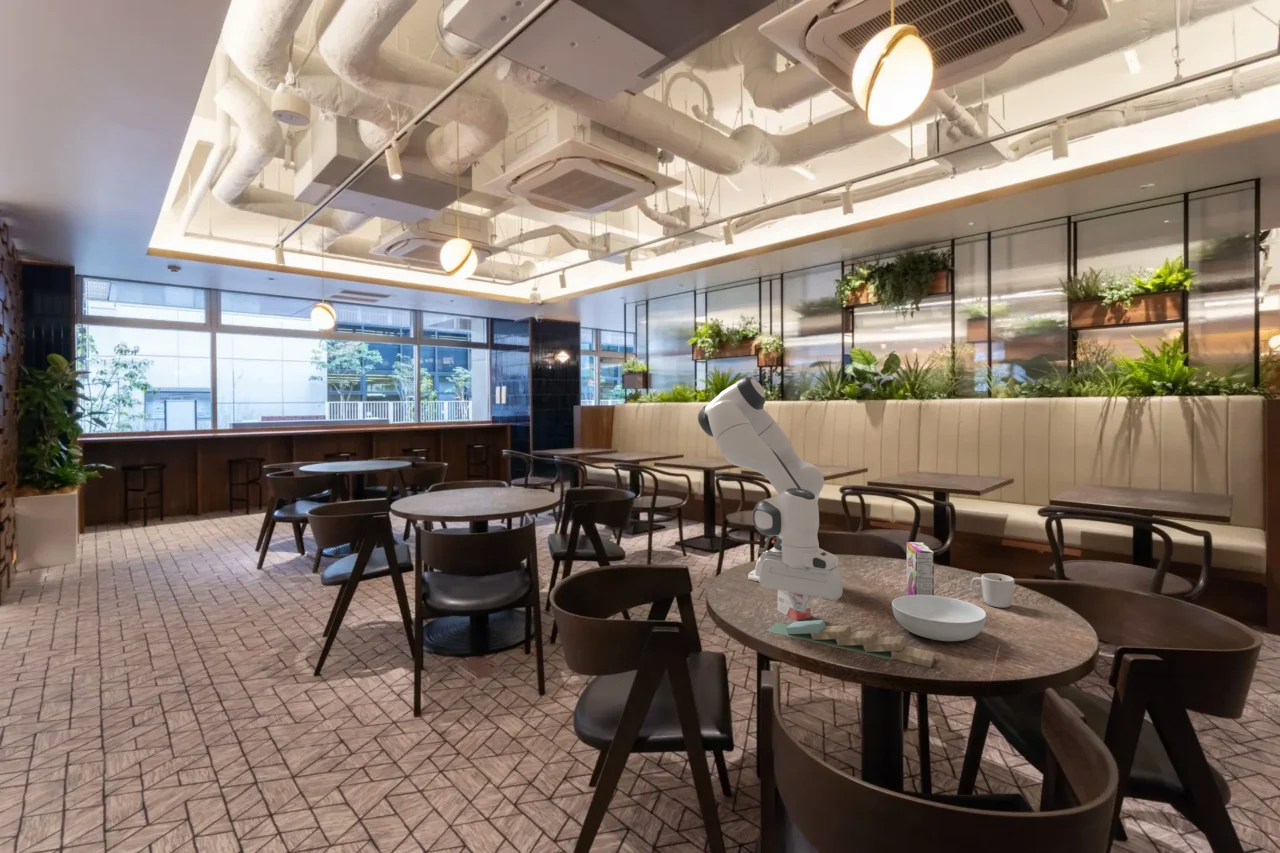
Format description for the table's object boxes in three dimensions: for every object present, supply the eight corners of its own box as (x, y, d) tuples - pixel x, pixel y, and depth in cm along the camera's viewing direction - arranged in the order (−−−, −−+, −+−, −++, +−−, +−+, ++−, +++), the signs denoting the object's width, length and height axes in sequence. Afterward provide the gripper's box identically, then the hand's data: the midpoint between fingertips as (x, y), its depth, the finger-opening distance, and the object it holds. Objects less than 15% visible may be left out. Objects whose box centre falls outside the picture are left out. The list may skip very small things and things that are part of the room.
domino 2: (810, 633, 143) (843, 631, 139) (817, 626, 147) (849, 624, 143) (812, 639, 143) (845, 638, 139) (819, 633, 147) (851, 631, 143)
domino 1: (786, 627, 147) (817, 626, 142) (793, 621, 151) (823, 619, 146) (787, 634, 147) (819, 632, 142) (795, 628, 151) (825, 626, 146)
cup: (966, 603, 169) (967, 575, 169) (974, 596, 175) (974, 569, 175) (1010, 612, 162) (1011, 583, 162) (1016, 604, 168) (1017, 576, 168)
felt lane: (765, 631, 149) (765, 630, 149) (776, 623, 155) (776, 622, 155) (893, 661, 132) (893, 660, 132) (900, 650, 137) (900, 649, 137)
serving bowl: (969, 622, 155) (970, 596, 154) (999, 655, 134) (1000, 625, 134) (884, 616, 159) (884, 591, 159) (900, 647, 139) (901, 618, 139)
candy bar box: (905, 596, 175) (905, 541, 175) (923, 597, 174) (924, 542, 174) (914, 609, 164) (915, 550, 164) (934, 610, 163) (935, 551, 163)
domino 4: (863, 644, 136) (899, 643, 132) (868, 637, 140) (904, 636, 136) (865, 652, 136) (901, 650, 131) (870, 644, 140) (905, 643, 136)
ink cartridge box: (811, 618, 158) (812, 563, 157) (796, 621, 156) (796, 565, 155) (791, 608, 166) (791, 556, 165) (776, 610, 164) (776, 558, 163)
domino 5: (891, 650, 133) (930, 660, 128) (896, 643, 137) (934, 652, 132) (891, 657, 133) (930, 668, 128) (896, 650, 137) (934, 659, 132)
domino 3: (835, 638, 140) (870, 637, 135) (842, 632, 144) (875, 630, 139) (837, 645, 140) (872, 644, 135) (843, 638, 144) (877, 637, 139)
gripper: (755, 551, 150) (755, 605, 151) (837, 564, 138) (836, 622, 139) (765, 546, 155) (765, 599, 156) (845, 558, 143) (844, 614, 144)
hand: (799, 610), depth 147 cm, fingers closed
